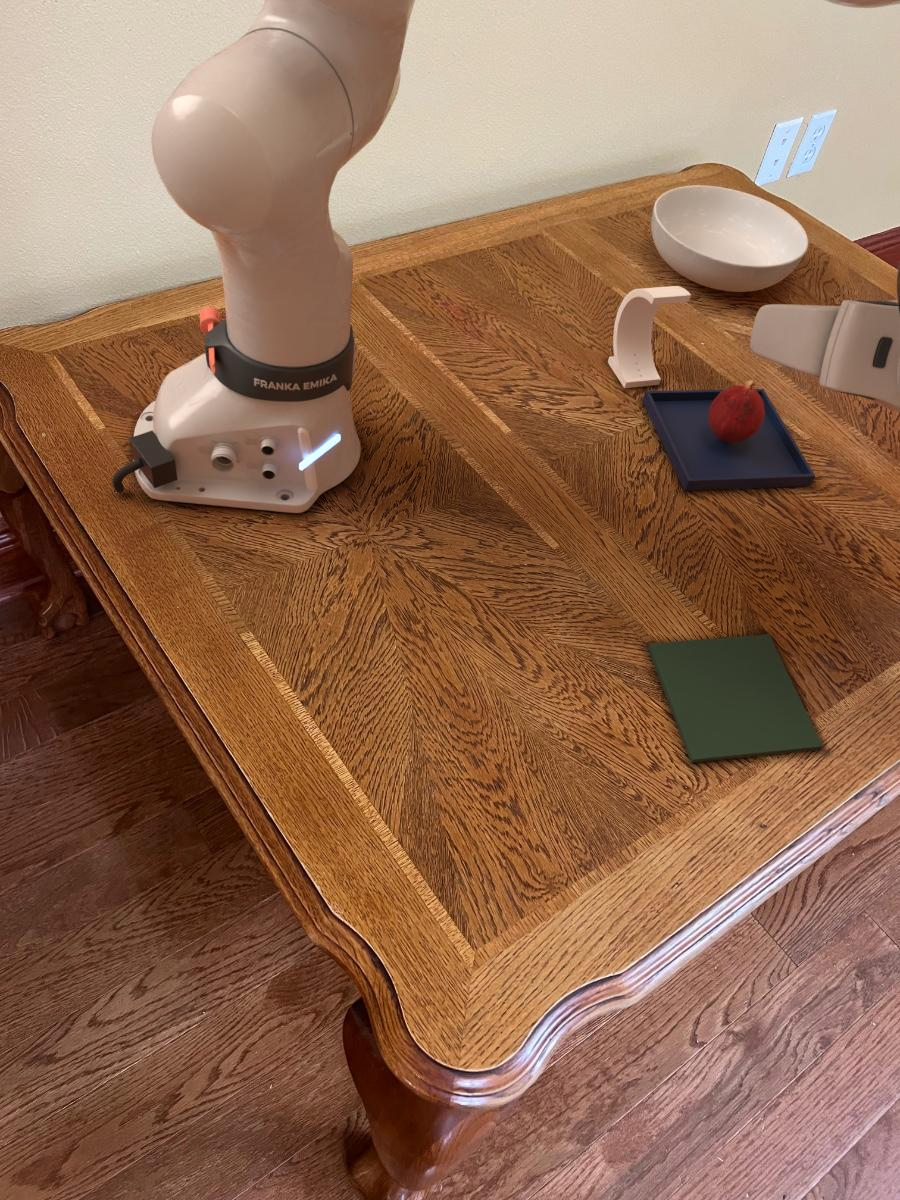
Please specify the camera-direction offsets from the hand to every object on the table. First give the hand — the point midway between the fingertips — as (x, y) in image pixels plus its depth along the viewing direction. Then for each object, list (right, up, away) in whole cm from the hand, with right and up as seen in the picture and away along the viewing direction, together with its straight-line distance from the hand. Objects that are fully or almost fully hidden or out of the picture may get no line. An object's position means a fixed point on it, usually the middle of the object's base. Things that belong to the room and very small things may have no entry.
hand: (804, 331), depth 83 cm
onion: (-1, -6, +22) cm, 23 cm away
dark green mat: (-7, -32, 0) cm, 33 cm away
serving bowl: (+5, +22, +46) cm, 51 cm away
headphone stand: (-10, +3, +29) cm, 31 cm away
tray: (-1, -6, +22) cm, 23 cm away
